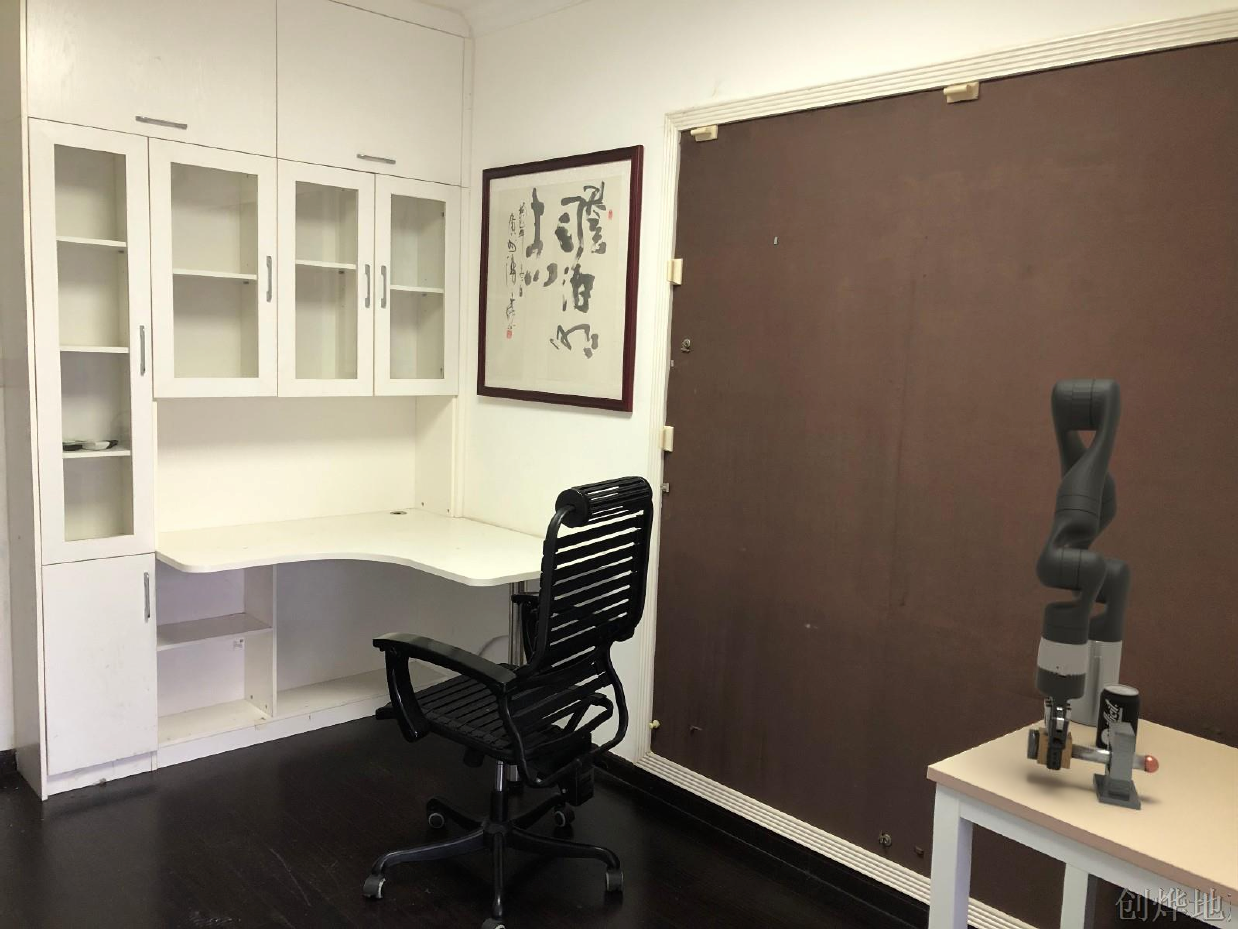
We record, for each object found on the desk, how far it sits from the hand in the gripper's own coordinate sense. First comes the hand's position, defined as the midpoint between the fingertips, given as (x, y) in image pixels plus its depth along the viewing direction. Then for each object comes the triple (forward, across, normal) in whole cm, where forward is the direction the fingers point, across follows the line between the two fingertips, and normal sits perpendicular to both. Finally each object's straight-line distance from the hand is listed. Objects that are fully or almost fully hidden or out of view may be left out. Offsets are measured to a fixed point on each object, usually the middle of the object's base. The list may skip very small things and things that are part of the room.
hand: (1052, 763), depth 163 cm
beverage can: (+4, -21, +12) cm, 24 cm away
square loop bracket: (+3, 0, +10) cm, 10 cm away
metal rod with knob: (0, 0, +6) cm, 6 cm away
